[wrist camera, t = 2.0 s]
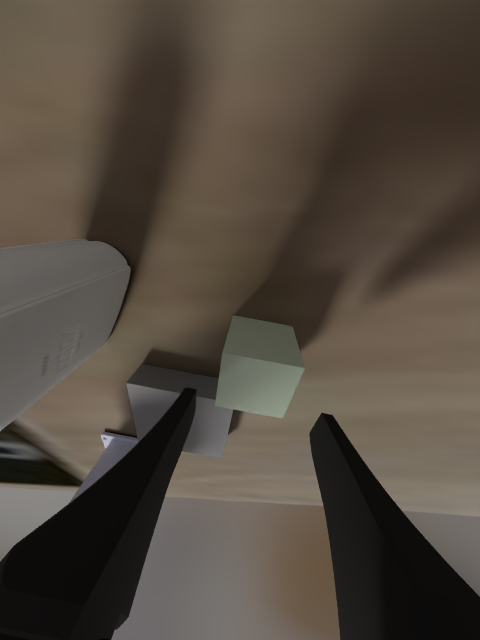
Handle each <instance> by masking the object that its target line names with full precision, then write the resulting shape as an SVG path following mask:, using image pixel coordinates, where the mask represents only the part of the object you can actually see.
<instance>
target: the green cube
mask: <svg viewBox="0 0 480 640" xmlns="http://www.w3.org/2000/svg"><path fill="white" fill-rule="evenodd" d="M304 369H305V367H304V363H303V360H302V356H301V353H300V350H299V346H298V343H297V340H296V336H295V333H294V330H293V326H289V325H283V324H278V323H273V322H267V321H262V320H256V319H251V318H246V317H240V316H235V315H233V317H232V320H231V324H230V327H229V331H228V335H227V338H226V342H225V345H224V349H223V352H222V359H221V366H220V373H219V380H218V387H217V394H216V402H215V406H218V407H223V408H229V409H234V410H239V411H245V412H250V413H255V414H261V415H266V416H271V417H276V418H282V419H283V417H284V414H285V412H286V410H287V408H288V405H289V403H290V401H291V399H292V396H293V394H294V392H295V390H296V387H297V385H298V383H299V381H300V378H301V376H302V374H303V372H304Z"/></svg>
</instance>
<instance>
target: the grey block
mask: <svg viewBox="0 0 480 640" xmlns="http://www.w3.org/2000/svg"><path fill="white" fill-rule="evenodd" d="M218 380H219V378H214V377H209V376H204V375H199V374H193V373H188V372H183V371H177V370H172V369H167V368H161V367H156V366H151V365H146V364H141V366H140V367H139V368H138V369H137V371H136V372H135V373H134V374H133V375H132V377H131V378H130V379H129V380H128V382H127V383H126V384H127V389H128V394H129V399H130V404H131V409H132V414H133V419H134V424H135V429H136V433H137V438H138V442H139V441H140V440H141V439H142V438H143V437H144V436H145V435H146V434H147V433H148V432H149V431H150V430H151V429H152V428H153V426H154V425H155V424H156V423H157V422H158V421H159V420H160V419H161V417H162V416H163V415H164V414H165V413H166V412H167V410H168V409H169V408H170V407H171V406H172V404H173V403H174V402H175V400H176V399H177V398H178V397H179V395H180V394H181V392H182V391H183V389H184V388H186V387H188V388H193V389H197V393H196V410H195V415H194V418H193V422H192V425H191V428H190V431H189V434H188V436H187V439H186V442H185V444H184V447H183V449H182V451H185V452H190V453H195V454H201V455H206V456H211V457H216V458H223V454H224V449H225V445H226V440H227V435H228V431H229V426H230V422H231V417H232V413H233V409H229V408H223V407H218V406H215V402H216V394H217V387H218Z"/></svg>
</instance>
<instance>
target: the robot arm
mask: <svg viewBox="0 0 480 640" xmlns="http://www.w3.org/2000/svg"><path fill="white" fill-rule="evenodd" d="M196 393H197V389H193V388H188V387H186V388H184V389H183V391H182V392H181V394H180V395H179V397H178V398H177V399H176V400H175V402H174V403H173V404H172V406H171V407H170V408H169V409H168V410H167V412H166V413H165V414H164V415H163V416H162V417H161V419H160V420H159V421H158V422H157V423H156V424H155V425H154V426H153V428H152V429H151V430H150V431H149V432H148V433H147V434H146V435H145V436H144V437H143V438H142V439H141V440H140V441H139V442H138V438H134V437H129V436H124V435H119V434H114V433H108V432H103V433H102V434H101V438H102V440H103V443H104V446H105V448H106V449H105V451H104V452H103V454H102V455H101V457H100V458H99V460H98V461H97V463H96V464H95V466H94V467H93V469H92V470H91V472H90V473H89V475H88V476H87V478H86V479H85V480H84V482H83V483H82V485H81V486H80V488H79V489H78V491H77V492H76V494H75V495H74V497H73V498H72V500H71V501H70V503H69V504H68V505H67V506H65V507H64V508H63V509H62V510H60V511H59V512H58V513H57V514H55V515H54V516H52V517H51V518H50V519H48V520H47V521H46V522H44V523H43V524H42V525H41V526H39V527H38V528H37V529H35V530H34V531H33V532H31V533H30V534H29V535H27V536H26V537H25V538H23V539H22V540H21V541H19V542H18V543H17V544H16V545H14V546H13V548H12V549H11V550H10V551H9V552H8V553H7V555H6V556H5V557H4V558H3V559H2V560H1V562H0V640H111V638H112V636H113V633H114V630H115V629H117V628H119V627H120V626H121V624H123V623H124V621H125V620H126V619H127V618H128V617H129V613H130V610H131V607H132V603H133V600H134V596H135V593H136V589H137V586H138V583H139V579H140V576H141V572H142V569H143V565H144V562H145V559H146V555H147V552H148V549H149V546H150V542H151V539H152V536H153V532H154V529H155V526H156V523H157V520H158V516H159V513H160V510H161V506H162V503H163V500H164V497H165V494H166V491H167V488H168V485H169V482H170V479H171V477H172V474H173V472H174V469H175V467H176V464H177V462H178V459H179V457H180V454H181V452H182V449H183V447H184V444H185V442H186V439H187V436H188V434H189V431H190V428H191V425H192V422H193V418H194V415H195V410H196ZM309 434H310V444H311V452H312V457H313V462H314V466H315V471H316V475H317V479H318V484H319V488H320V492H321V497H322V501H323V505H324V510H325V515H326V521H327V528H328V535H329V540H330V548H331V556H332V562H333V570H334V579H335V587H336V596H337V606H338V617H339V628H340V639H341V640H480V597H479V596H478V595H477V594H476V593H475V591H474V590H473V589H472V588H471V587H470V586H469V585H468V584H467V583H466V582H465V581H464V580H463V579H462V578H461V577H460V576H459V575H458V574H457V573H456V572H455V571H454V569H453V568H452V567H451V566H450V565H449V564H448V563H447V562H446V561H445V560H444V559H443V558H442V557H441V555H440V554H439V553H438V552H437V551H436V550H435V549H434V548H433V546H432V545H431V544H430V543H429V542H428V541H427V540H426V539H425V538H424V536H423V535H422V534H421V533H420V532H419V531H418V530H417V528H415V526H414V525H413V524H412V523H411V522H410V520H409V519H408V518H407V517H406V515H405V514H404V513H403V512H402V511H401V509H400V508H399V507H398V506H397V504H396V503H395V502H394V501H393V500H392V498H391V497H390V496H389V495H388V493H387V492H386V491H385V489H384V488H383V487H382V485H381V484H380V483H379V481H378V480H377V479H376V478H375V476H374V475H373V474H372V472H371V471H370V469H369V468H368V467H367V465H366V464H365V462H364V461H363V460H362V458H361V457H360V455H359V454H358V452H357V451H356V450H355V448H354V447H353V445H352V444H351V442H350V441H349V439H348V438H347V436H346V435H345V433H344V432H343V430H342V429H341V427H340V426H339V424H338V423H337V421H336V420H335V418H334V417H333V415H330V414H325V413H321V415H320V416H319V418H318V420H317V421H316V423H315V425H314V426H313V428H312V430H311V431H310V433H309Z"/></svg>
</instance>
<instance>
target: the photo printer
mask: <svg viewBox="0 0 480 640" xmlns="http://www.w3.org/2000/svg"><path fill="white" fill-rule="evenodd" d="M130 271H131V268H130V266H128V265H127V261H126V259H125V258H124V257H123V255H122V254H121V253H120V252H119V251H117V250H116V249H115V248H114V247H112V246H110V245H109V244H107V243H104V242H100V241H88V240H86V239H69V240H62V241H54V242H46V243H38V244H30V245H21V246H14V247H6V248H0V431H1V430H2V429H3V428H5V427H6V426H7V425H8V424H9V423H11V422H12V421H13V420H14V419H16V418H17V417H18V416H19V415H21V414H22V413H23V412H24V411H25V410H27V409H28V408H29V407H30V406H31V405H33V404H34V403H35V402H36V401H38V400H39V399H40V398H41V397H42V396H44V395H45V394H46V393H47V392H49V391H50V390H51V389H52V388H53V387H55V386H56V385H57V384H58V383H59V382H61V381H62V380H63V379H64V378H65V377H67V376H68V375H69V374H70V373H72V372H73V371H74V370H75V369H76V368H78V367H79V366H80V365H81V364H82V363H84V362H85V361H86V360H87V359H88V358H90V357H91V356H92V355H93V354H94V353H96V352H97V351H98V350H99V349H100V348H101V347H102V346H103V345H104V344H105V342H106V341H107V340H108V338H109V336H110V334H111V331H112V329H113V326H114V324H115V322H116V319H117V316H118V313H119V310H120V308H121V305H122V302H123V298H124V295H125V292H126V289H127V286H128V282H129V278H130Z"/></svg>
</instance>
